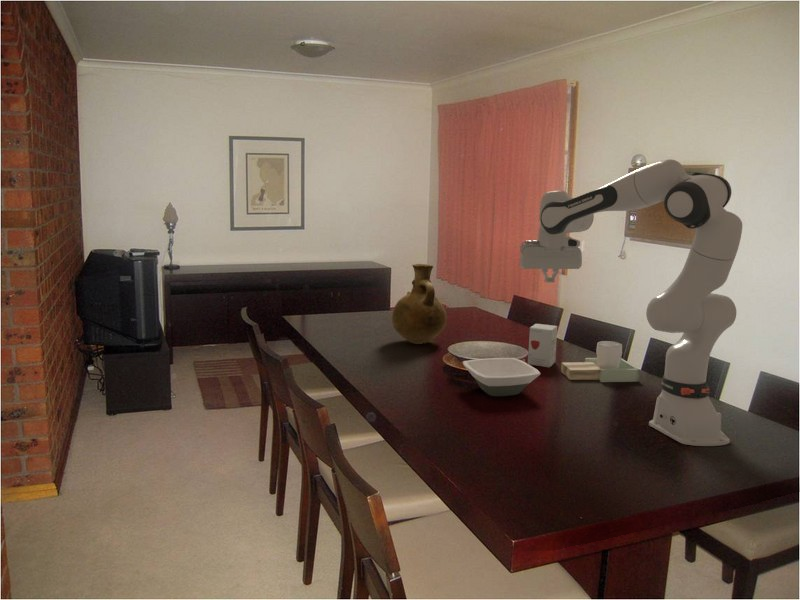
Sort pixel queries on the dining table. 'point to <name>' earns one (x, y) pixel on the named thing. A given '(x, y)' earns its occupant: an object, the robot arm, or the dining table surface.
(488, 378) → the bowl
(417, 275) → the vase
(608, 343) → the cup
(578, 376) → the board
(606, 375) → the tray
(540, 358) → the supplement box
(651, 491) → the dining table surface
